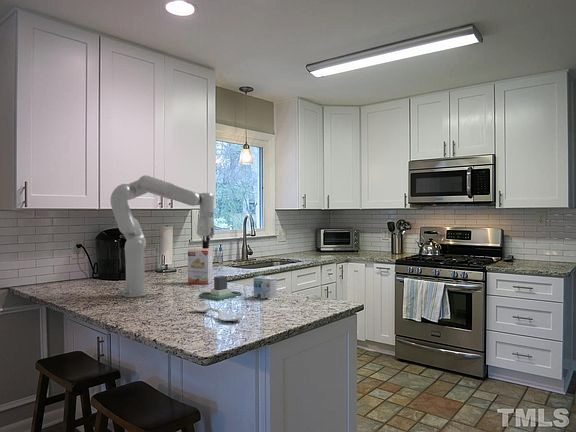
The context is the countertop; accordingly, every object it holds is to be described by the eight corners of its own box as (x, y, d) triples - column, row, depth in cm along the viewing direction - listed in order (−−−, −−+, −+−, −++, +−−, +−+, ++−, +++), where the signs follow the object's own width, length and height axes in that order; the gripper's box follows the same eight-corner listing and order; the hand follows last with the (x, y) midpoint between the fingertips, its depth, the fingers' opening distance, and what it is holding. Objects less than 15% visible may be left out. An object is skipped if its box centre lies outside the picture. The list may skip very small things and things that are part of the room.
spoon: (204, 308, 205) (204, 301, 205) (246, 321, 182) (246, 313, 182) (187, 312, 199) (187, 304, 199) (229, 326, 176) (229, 317, 176)
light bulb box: (253, 297, 228) (253, 277, 228) (259, 295, 234) (259, 275, 234) (270, 299, 223) (270, 278, 223) (277, 297, 229) (277, 276, 229)
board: (219, 301, 220) (219, 293, 220) (199, 296, 230) (199, 289, 230) (242, 295, 232) (242, 288, 232) (222, 291, 242) (221, 284, 242)
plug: (219, 294, 228) (219, 277, 227) (214, 293, 230) (214, 276, 230) (228, 292, 233) (228, 276, 232) (223, 291, 235) (223, 275, 235)
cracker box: (187, 283, 267) (187, 249, 267) (192, 281, 273) (192, 248, 273) (208, 284, 263) (207, 250, 263) (212, 283, 269) (212, 249, 268)
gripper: (192, 214, 242) (191, 247, 243) (209, 215, 233) (208, 250, 233) (203, 214, 248) (202, 246, 248) (220, 215, 238) (219, 249, 239)
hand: (205, 248), depth 241 cm, fingers closed
